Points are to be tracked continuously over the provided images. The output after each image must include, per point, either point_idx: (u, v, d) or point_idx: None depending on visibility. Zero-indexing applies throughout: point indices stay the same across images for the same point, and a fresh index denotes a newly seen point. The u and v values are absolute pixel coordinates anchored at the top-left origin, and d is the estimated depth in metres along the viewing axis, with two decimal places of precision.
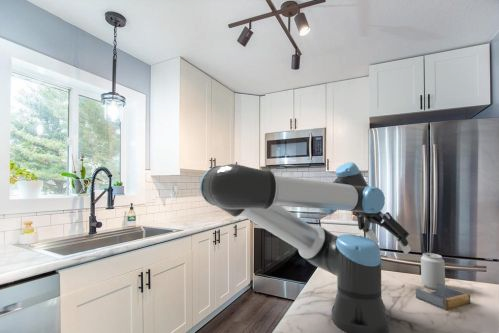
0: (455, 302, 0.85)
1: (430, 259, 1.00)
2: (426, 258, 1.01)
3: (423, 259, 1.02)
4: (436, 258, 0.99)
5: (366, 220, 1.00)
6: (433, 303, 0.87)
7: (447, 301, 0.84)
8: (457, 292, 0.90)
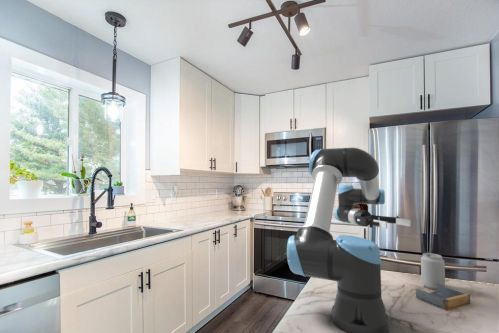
0: (455, 302, 0.85)
1: (430, 259, 1.00)
2: (426, 258, 1.01)
3: (423, 259, 1.02)
4: (436, 258, 0.99)
5: (368, 216, 1.24)
6: (433, 303, 0.87)
7: (447, 301, 0.84)
8: (457, 292, 0.90)
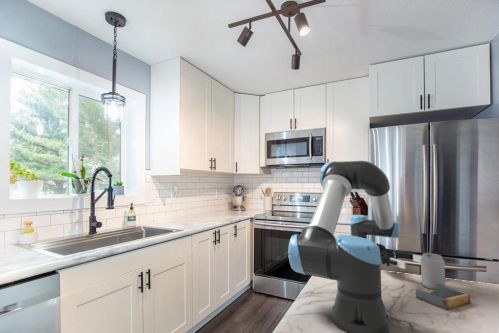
0: (455, 302, 0.85)
1: (430, 259, 1.00)
2: (426, 258, 1.01)
3: (423, 259, 1.02)
4: (436, 258, 0.99)
5: (384, 251, 1.20)
6: (433, 303, 0.87)
7: (447, 301, 0.84)
8: (457, 292, 0.90)
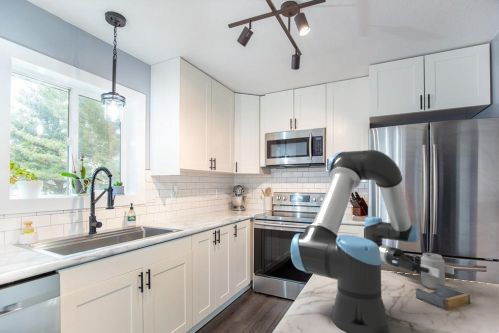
0: (455, 302, 0.85)
1: (430, 259, 1.00)
2: (426, 258, 1.01)
3: (423, 259, 1.02)
4: (436, 258, 0.99)
5: (404, 257, 1.11)
6: (433, 303, 0.87)
7: (447, 301, 0.84)
8: (457, 292, 0.90)
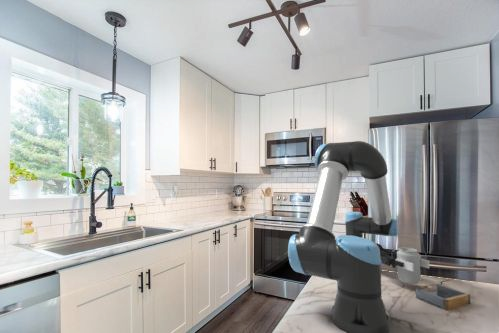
0: (455, 302, 0.85)
1: (405, 253, 1.00)
2: (402, 252, 1.01)
3: (399, 253, 1.01)
4: (411, 252, 0.99)
5: (382, 251, 1.10)
6: (433, 303, 0.87)
7: (447, 301, 0.84)
8: (457, 292, 0.90)
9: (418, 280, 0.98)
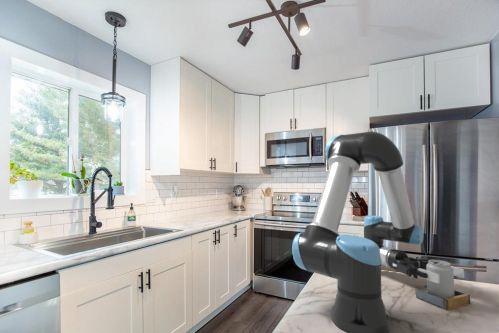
0: (455, 302, 0.85)
1: (437, 267, 0.89)
2: (433, 266, 0.90)
3: (429, 267, 0.91)
4: (444, 266, 0.88)
5: (406, 260, 1.00)
6: (433, 303, 0.87)
7: (447, 301, 0.84)
8: (457, 292, 0.90)
9: None
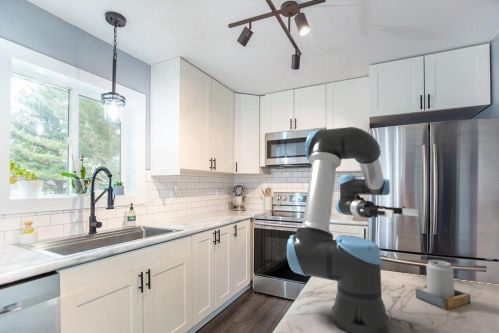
0: (455, 302, 0.85)
1: (437, 267, 0.89)
2: (433, 266, 0.90)
3: (429, 267, 0.91)
4: (444, 266, 0.88)
5: (372, 206, 1.15)
6: (433, 303, 0.87)
7: (447, 301, 0.84)
8: (457, 292, 0.90)
9: None
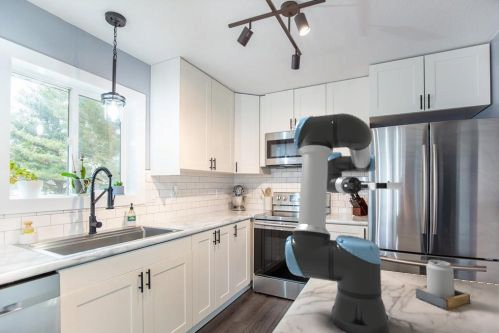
0: (455, 302, 0.85)
1: (437, 267, 0.89)
2: (433, 266, 0.90)
3: (429, 267, 0.91)
4: (444, 266, 0.88)
5: (356, 181, 1.13)
6: (433, 303, 0.87)
7: (447, 301, 0.84)
8: (457, 292, 0.90)
9: None
